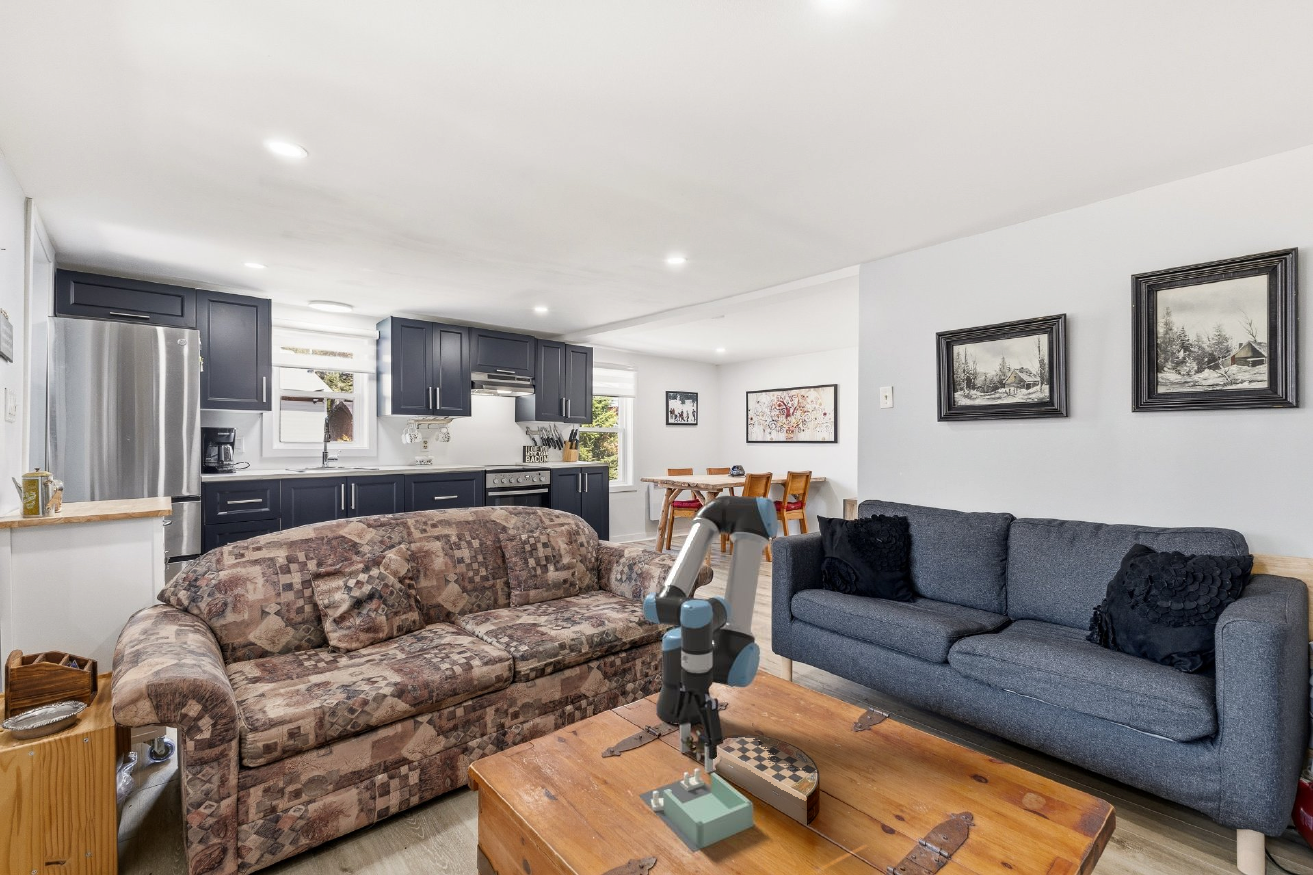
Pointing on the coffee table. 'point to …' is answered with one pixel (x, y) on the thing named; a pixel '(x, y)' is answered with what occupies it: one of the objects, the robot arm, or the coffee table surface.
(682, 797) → the mat
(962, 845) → the coffee table surface
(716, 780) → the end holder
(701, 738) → the eagle figurine
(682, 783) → the clips
